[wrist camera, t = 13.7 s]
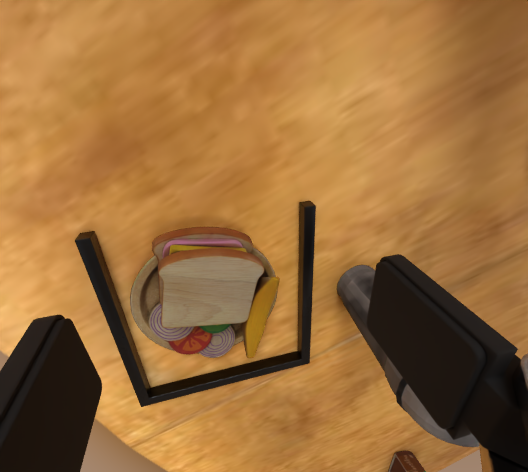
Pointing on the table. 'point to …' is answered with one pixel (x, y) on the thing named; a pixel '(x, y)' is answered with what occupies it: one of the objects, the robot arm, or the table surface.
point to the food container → (405, 463)
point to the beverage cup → (357, 304)
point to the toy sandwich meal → (204, 292)
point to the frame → (149, 396)
